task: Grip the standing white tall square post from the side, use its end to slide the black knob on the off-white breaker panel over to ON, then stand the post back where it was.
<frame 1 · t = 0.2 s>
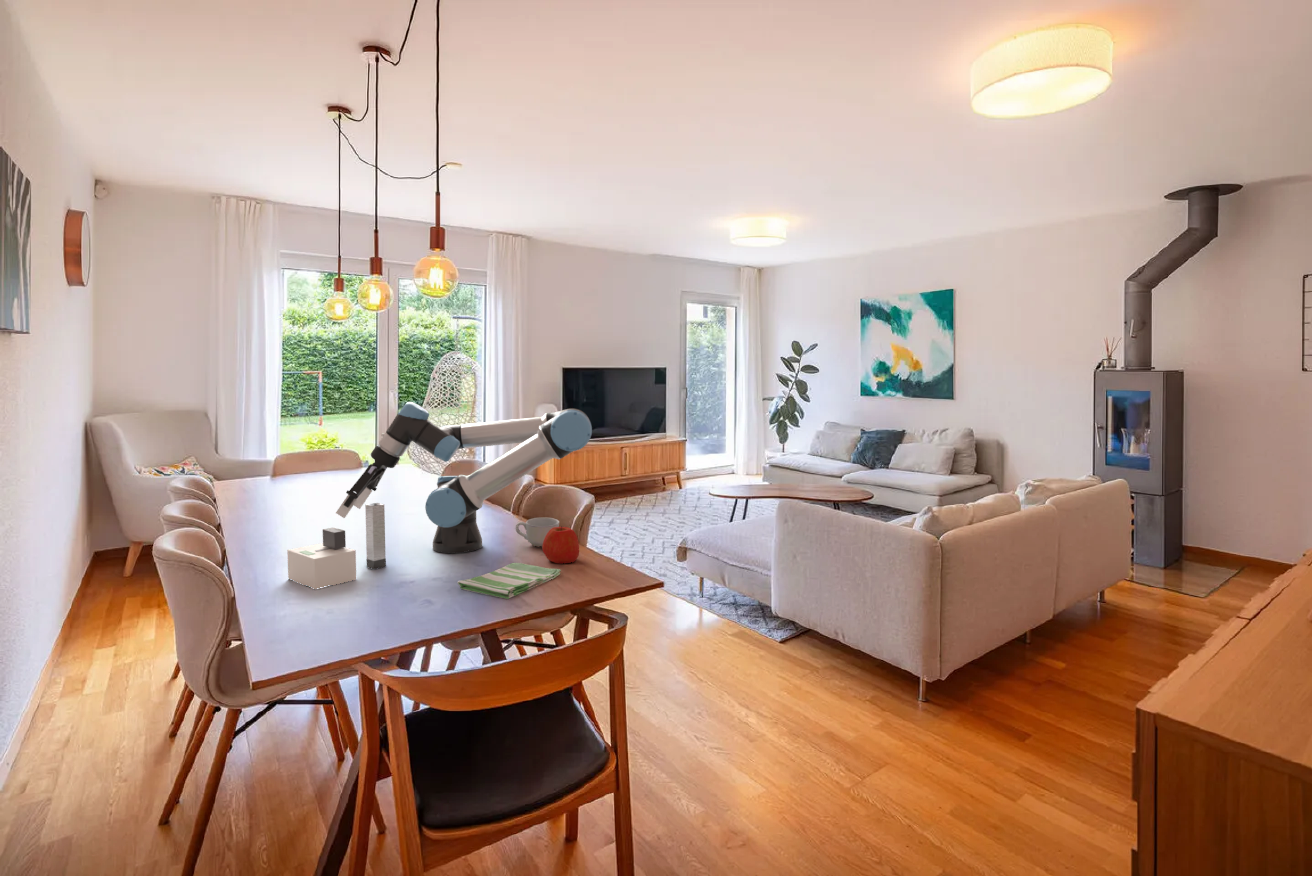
hand: (348, 510, 197), 15 cm above the table, tool tilted 35°, fingers open, 13 cm apart
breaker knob: (334, 538, 182), point 11 cm above the table, slide at 0.0 cm
breaker panel: (322, 579, 180), on the table
white tall square post: (376, 566, 192), on the table
dish towel: (510, 584, 181), on the table
apple: (561, 562, 201), on the table
teacup: (537, 545, 220), on the table
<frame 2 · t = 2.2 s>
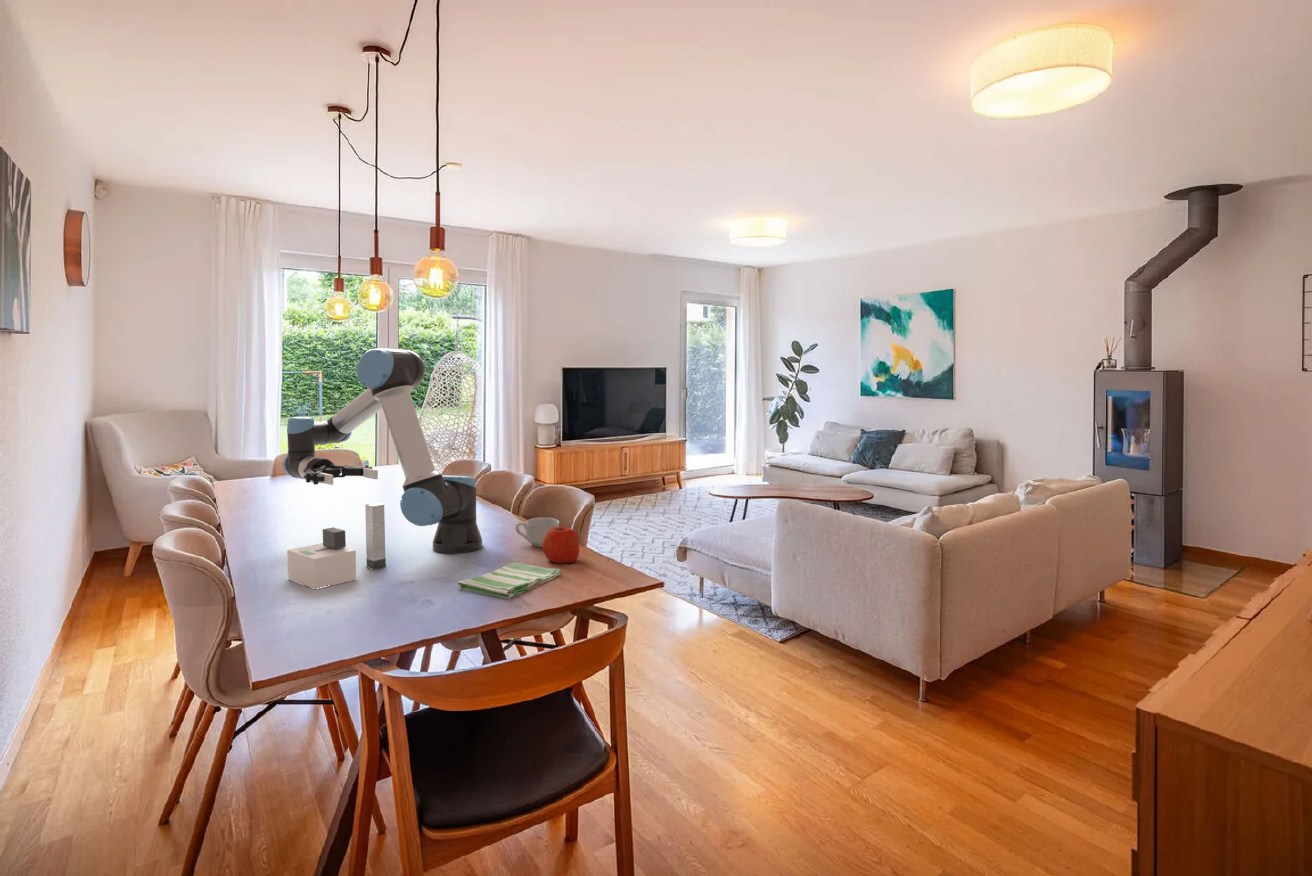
hand: (355, 477, 196), 25 cm above the table, tool horizontal, fingers open, 13 cm apart
nothing on the table moved.
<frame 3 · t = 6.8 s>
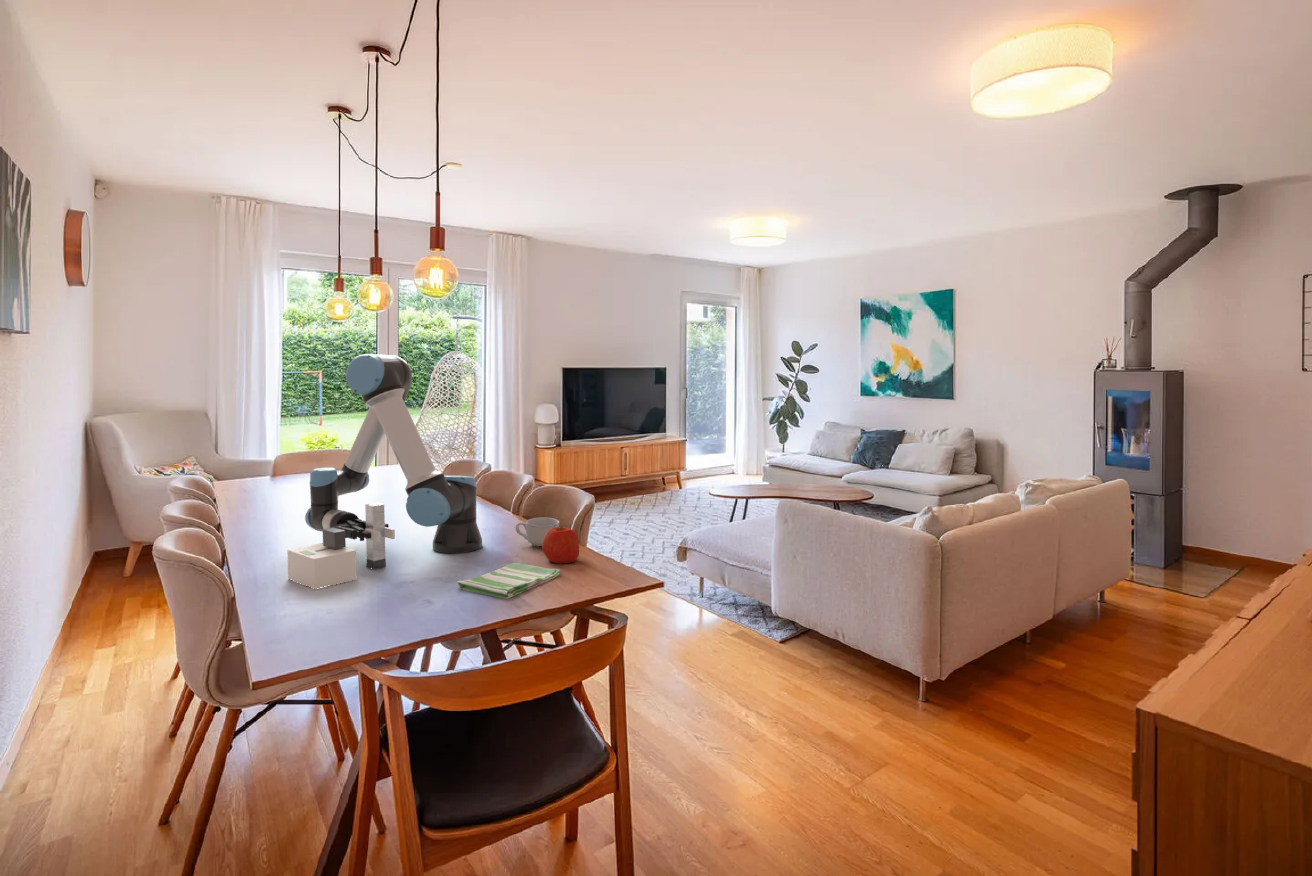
hand: (386, 535, 188), 10 cm above the table, tool horizontal, fingers closed on white tall square post, 4 cm apart
white tall square post: (376, 566, 192), on the table, touching gripper
everything else where it was.
when the fingers open (11 cm above the table, at t = 16.0 s): white tall square post drops 1 cm, on the table.
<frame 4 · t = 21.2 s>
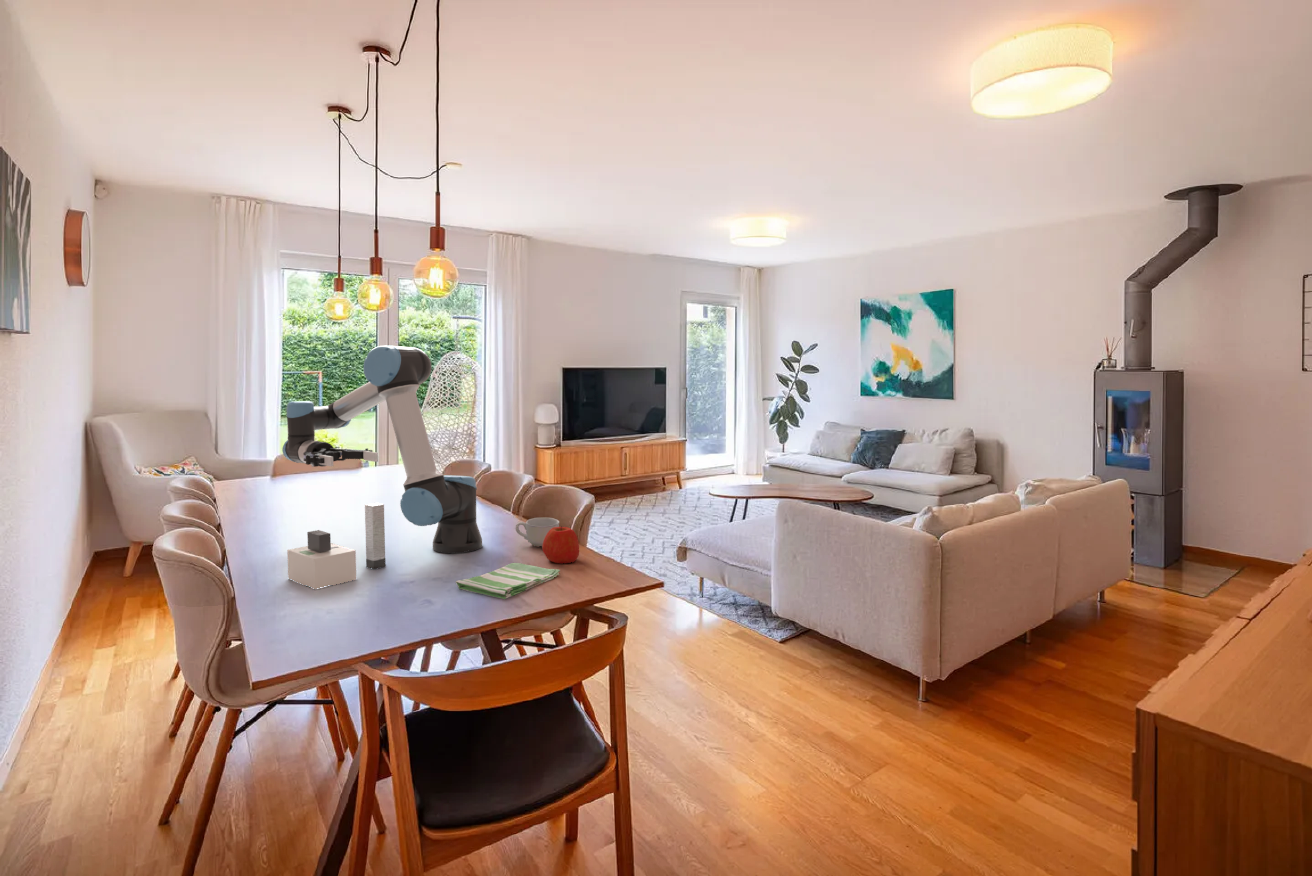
hand: (355, 459, 195), 30 cm above the table, tool horizontal, fingers open, 13 cm apart
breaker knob: (319, 541, 178), point 11 cm above the table, slide at 4.1 cm
white tall square post: (375, 566, 192), on the table
everything else where it was.
at the end: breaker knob slide at 4.1 cm; white tall square post tilted 0°; white tall square post inside the target area (0.1 cm from its centre), on the table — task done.
